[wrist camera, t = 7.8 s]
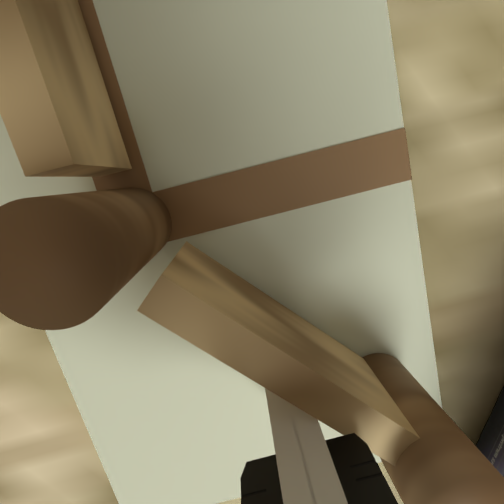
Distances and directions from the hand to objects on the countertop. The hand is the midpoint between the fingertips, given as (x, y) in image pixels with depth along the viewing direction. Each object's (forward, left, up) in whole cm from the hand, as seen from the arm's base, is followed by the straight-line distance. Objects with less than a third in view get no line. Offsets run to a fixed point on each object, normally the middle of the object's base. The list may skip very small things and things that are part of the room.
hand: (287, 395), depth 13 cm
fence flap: (-2, +1, -1) cm, 3 cm away
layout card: (-8, -1, -2) cm, 8 cm away
